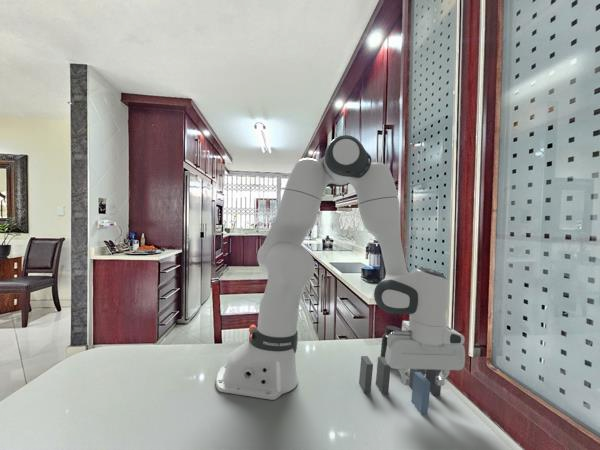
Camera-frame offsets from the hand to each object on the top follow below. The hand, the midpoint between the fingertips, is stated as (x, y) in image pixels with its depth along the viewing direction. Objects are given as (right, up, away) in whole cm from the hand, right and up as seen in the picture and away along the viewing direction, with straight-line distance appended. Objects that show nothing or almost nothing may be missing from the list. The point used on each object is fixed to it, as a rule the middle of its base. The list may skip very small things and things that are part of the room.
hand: (422, 384), depth 76 cm
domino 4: (-1, -6, -1) cm, 6 cm away
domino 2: (-9, -5, +7) cm, 12 cm away
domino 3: (+1, -6, +8) cm, 10 cm away
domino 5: (+6, -6, +8) cm, 12 cm away
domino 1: (-14, -5, +6) cm, 16 cm away
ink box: (+8, -7, +30) cm, 32 cm away
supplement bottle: (-1, -6, +23) cm, 24 cm away
